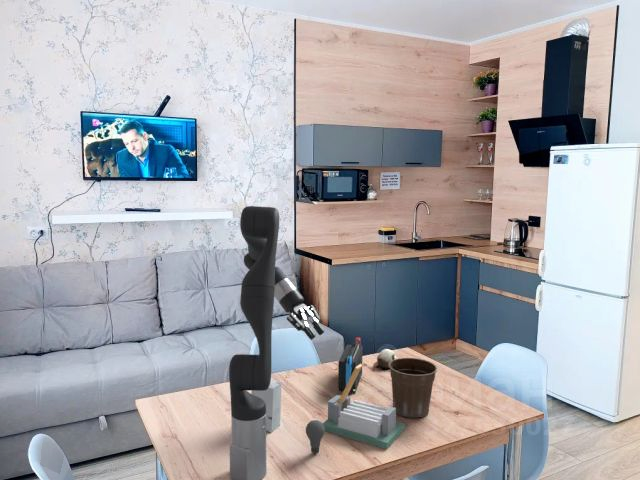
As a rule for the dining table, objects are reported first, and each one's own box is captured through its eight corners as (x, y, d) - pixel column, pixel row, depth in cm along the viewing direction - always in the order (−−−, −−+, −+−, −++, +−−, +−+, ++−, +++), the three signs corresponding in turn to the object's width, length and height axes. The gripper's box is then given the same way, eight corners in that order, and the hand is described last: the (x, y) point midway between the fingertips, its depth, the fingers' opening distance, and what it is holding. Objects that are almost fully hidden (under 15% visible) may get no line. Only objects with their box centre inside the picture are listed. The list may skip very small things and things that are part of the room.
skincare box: (250, 427, 171) (249, 383, 169) (259, 419, 176) (259, 376, 174) (273, 433, 167) (272, 388, 165) (282, 425, 173) (281, 381, 171)
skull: (384, 356, 234) (397, 343, 228) (397, 376, 229) (410, 364, 223) (365, 362, 226) (378, 348, 220) (378, 383, 221) (392, 370, 215)
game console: (353, 398, 193) (354, 359, 191) (336, 396, 194) (336, 358, 193) (363, 370, 220) (364, 336, 218) (348, 369, 222) (348, 335, 220)
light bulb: (319, 446, 159) (319, 415, 158) (328, 455, 154) (328, 422, 153) (302, 451, 156) (302, 419, 155) (311, 460, 152) (311, 427, 150)
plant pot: (437, 403, 189) (438, 360, 187) (434, 424, 173) (435, 377, 171) (391, 398, 193) (392, 355, 191) (384, 418, 178) (385, 371, 176)
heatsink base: (387, 449, 158) (387, 422, 157) (321, 430, 169) (321, 404, 168) (404, 429, 170) (405, 404, 169) (342, 413, 181) (342, 389, 180)
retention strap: (339, 405, 171) (337, 404, 171) (344, 401, 174) (342, 400, 174) (357, 368, 166) (355, 367, 166) (362, 365, 169) (360, 363, 169)
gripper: (281, 292, 171) (313, 335, 166) (305, 284, 183) (335, 323, 179) (268, 306, 174) (299, 348, 170) (292, 297, 187) (322, 336, 182)
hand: (317, 335), depth 174 cm, fingers open, 5 cm apart
